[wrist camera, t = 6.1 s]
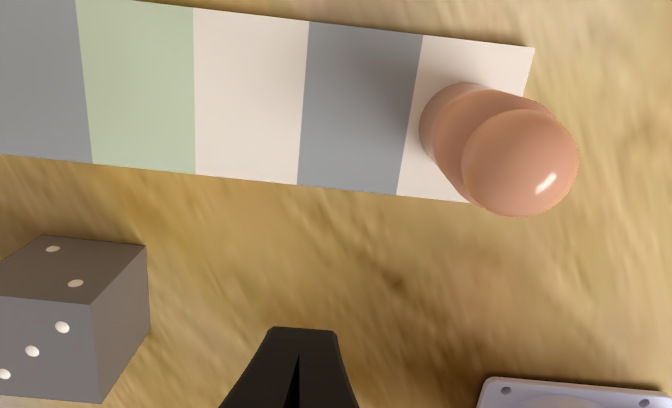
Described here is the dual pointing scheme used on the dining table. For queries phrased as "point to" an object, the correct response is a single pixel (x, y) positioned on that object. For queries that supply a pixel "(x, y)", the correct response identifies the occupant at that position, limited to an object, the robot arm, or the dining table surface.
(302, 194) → the dining table surface
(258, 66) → the board
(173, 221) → the dining table surface
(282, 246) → the dining table surface
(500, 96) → the pawn
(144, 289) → the die
